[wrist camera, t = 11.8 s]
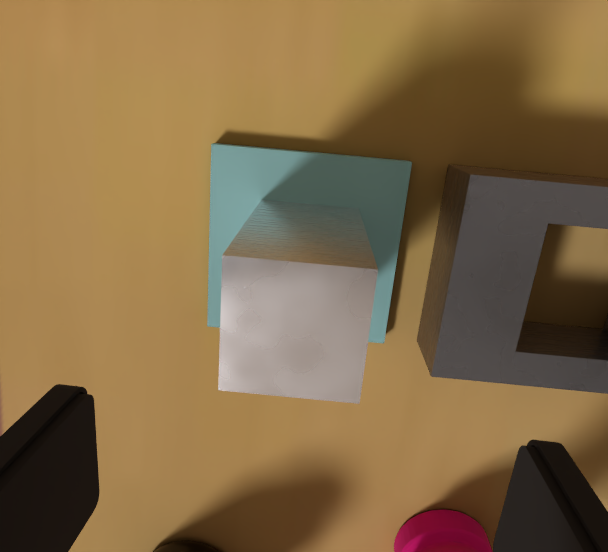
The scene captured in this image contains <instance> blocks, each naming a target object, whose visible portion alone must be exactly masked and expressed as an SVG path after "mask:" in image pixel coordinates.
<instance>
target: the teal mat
mask: <svg viewBox="0 0 608 552" xmlns="http://www.w3.org/2000/svg"><path fill="white" fill-rule="evenodd" d="M411 166H412V162H411V161H406V160H395V159H384V158H373V157H362V156H351V155H340V154H330V153H319V152H308V151H297V150H286V149H275V148H264V147H253V146H242V145H231V144H220V143H213V144H211V188H210V234H209V280H208V325H207V326H210V327H220V316H221V280H222V255H223V253H224V252H225V251H226V249H227V248H228V246H229V245H230V243H231V242H232V241H233V239H234V238H235V236H236V235H237V234H238V232H239V231H240V229H241V228H242V226H243V225H244V224H245V222H246V221H247V219H248V218H249V217H250V215H251V214H252V212H253V211H254V209H255V208H256V207H257V205H258V204H259V202H260V201H261V200H271V201H283V202H294V203H305V204H316V205H327V206H338V207H349V208H359V211H360V215H361V218H362V221H363V224H364V227H365V230H366V233H367V236H368V240H369V243H370V246H371V249H372V252H373V255H374V258H375V261H376V264H377V268H378V274H377V281H376V288H375V295H374V303H373V310H372V317H371V324H370V331H369V338H368V342H376V343H384V340H385V333H386V327H387V321H388V314H389V308H390V301H391V295H392V288H393V282H394V276H395V269H396V263H397V256H398V250H399V243H400V237H401V231H402V224H403V218H404V211H405V205H406V198H407V192H408V185H409V179H410V173H411Z"/></svg>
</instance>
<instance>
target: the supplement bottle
mask: <svg viewBox="0 0 608 552" xmlns="http://www.w3.org/2000/svg"><path fill="white" fill-rule="evenodd" d="M154 552H219V551H218V550H216V549H214V548H213V547H211V546H208V545H206V544H203V543H200V542H195V541H176V542H171V543H168V544H165V545H163V546H161V547H159V548H158V549H156V550H155V551H154Z"/></svg>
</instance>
